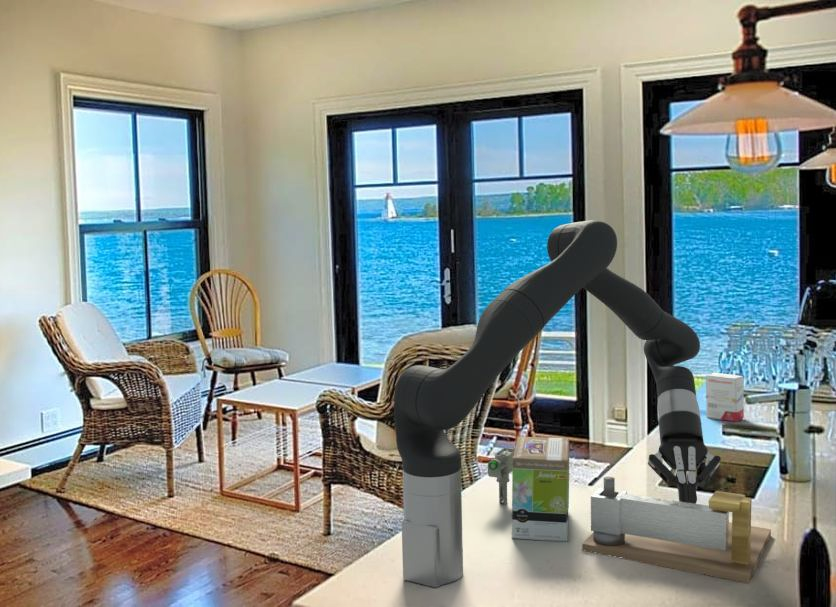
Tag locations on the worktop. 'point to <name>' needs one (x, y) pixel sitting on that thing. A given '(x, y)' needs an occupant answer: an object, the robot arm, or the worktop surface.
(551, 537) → the tea box
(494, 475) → the mechanical component
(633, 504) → the link
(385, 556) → the worktop surface
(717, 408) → the ink box
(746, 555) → the latch board
